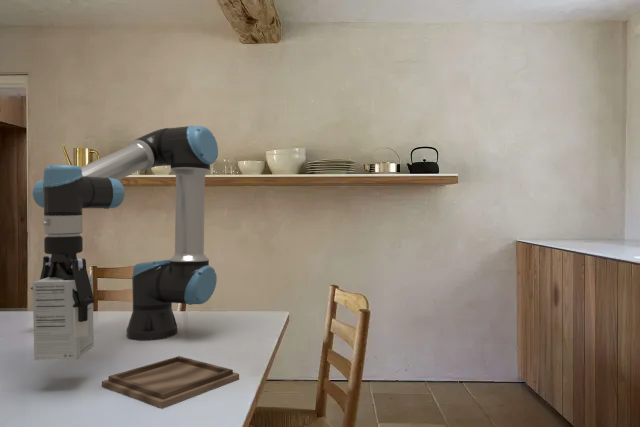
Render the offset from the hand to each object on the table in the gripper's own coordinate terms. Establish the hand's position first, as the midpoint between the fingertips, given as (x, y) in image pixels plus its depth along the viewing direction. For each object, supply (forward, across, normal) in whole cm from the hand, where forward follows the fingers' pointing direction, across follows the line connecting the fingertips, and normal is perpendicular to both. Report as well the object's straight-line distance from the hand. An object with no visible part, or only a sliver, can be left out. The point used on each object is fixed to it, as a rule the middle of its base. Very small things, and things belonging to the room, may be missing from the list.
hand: (64, 332), depth 109 cm
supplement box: (+5, 0, 0) cm, 5 cm away
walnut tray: (+12, +18, +14) cm, 26 cm away
